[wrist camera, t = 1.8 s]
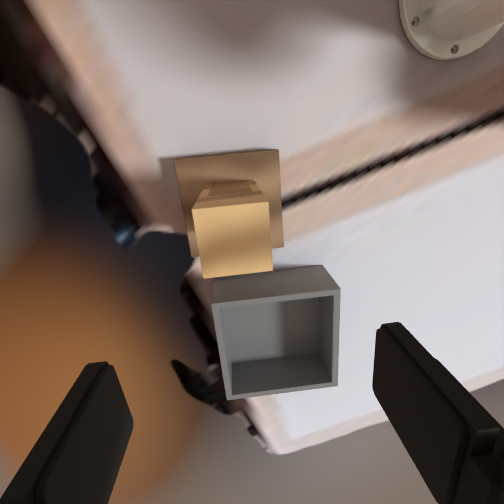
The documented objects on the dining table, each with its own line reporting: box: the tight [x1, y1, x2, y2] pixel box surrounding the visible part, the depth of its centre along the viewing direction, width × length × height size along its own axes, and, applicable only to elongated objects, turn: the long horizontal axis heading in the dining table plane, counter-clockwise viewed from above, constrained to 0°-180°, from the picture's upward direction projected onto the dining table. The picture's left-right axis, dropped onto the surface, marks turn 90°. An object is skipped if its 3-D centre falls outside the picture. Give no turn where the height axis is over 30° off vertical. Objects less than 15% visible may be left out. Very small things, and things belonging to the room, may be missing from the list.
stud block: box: [174, 149, 284, 257], centre depth 32 cm, size 12×12×9 cm
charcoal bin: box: [211, 265, 340, 400], centre depth 40 cm, size 16×16×7 cm
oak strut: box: [192, 180, 273, 279], centre depth 28 cm, size 6×6×13 cm
